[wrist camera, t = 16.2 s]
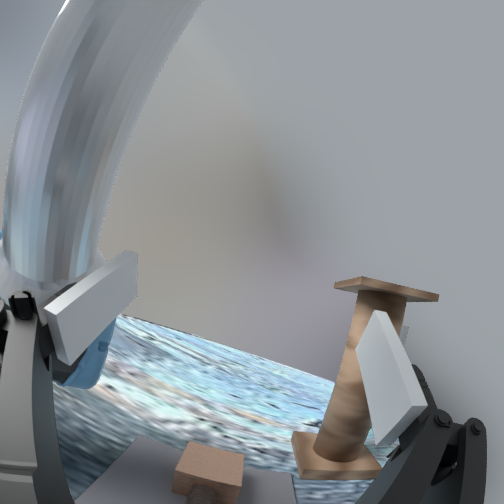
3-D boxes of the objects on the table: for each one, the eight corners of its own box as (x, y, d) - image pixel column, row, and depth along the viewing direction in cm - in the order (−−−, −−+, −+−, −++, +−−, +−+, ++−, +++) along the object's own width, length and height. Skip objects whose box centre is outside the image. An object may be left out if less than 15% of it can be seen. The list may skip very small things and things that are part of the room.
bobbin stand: (299, 478, 28) (362, 276, 32) (290, 439, 40) (334, 282, 45) (378, 478, 27) (439, 294, 31) (354, 444, 40) (398, 296, 44)
